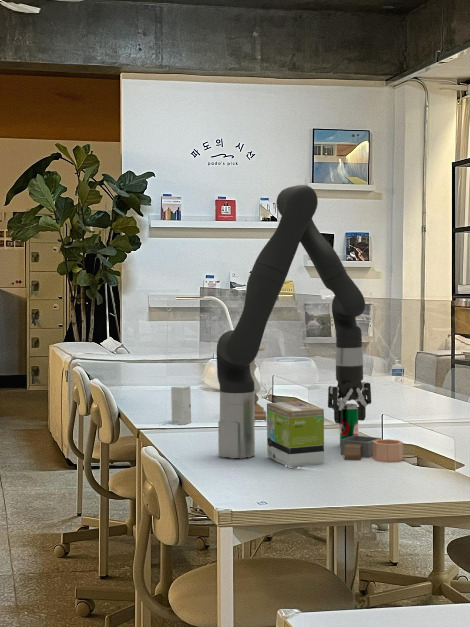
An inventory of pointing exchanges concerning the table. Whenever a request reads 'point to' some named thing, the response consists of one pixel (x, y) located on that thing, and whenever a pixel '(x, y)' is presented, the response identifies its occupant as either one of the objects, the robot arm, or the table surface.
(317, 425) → the tea box
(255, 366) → the candle holder
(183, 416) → the skincare box
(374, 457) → the bowl
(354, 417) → the soda can
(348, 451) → the walnut block
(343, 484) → the table surface
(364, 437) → the bin
